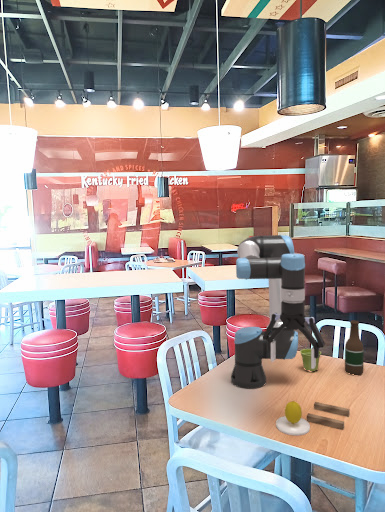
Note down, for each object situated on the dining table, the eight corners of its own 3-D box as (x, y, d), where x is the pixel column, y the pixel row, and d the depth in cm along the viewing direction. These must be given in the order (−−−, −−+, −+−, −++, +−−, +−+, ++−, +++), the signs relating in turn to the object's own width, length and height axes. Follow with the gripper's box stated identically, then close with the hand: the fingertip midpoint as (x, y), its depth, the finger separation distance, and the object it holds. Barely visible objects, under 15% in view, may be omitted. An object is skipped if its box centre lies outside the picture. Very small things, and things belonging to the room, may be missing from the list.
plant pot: (300, 373, 178) (300, 354, 178) (299, 365, 187) (299, 348, 187) (322, 374, 176) (322, 355, 175) (320, 367, 185) (320, 349, 185)
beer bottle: (355, 377, 172) (355, 323, 170) (341, 371, 179) (341, 320, 177) (367, 373, 176) (367, 321, 174) (352, 368, 183) (353, 318, 181)
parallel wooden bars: (306, 421, 135) (306, 415, 135) (315, 406, 145) (315, 401, 145) (343, 429, 129) (343, 424, 129) (349, 414, 139) (349, 409, 139)
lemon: (282, 419, 134) (282, 397, 133) (298, 419, 134) (298, 396, 134) (287, 428, 129) (287, 405, 128) (303, 427, 129) (304, 404, 128)
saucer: (271, 430, 130) (271, 427, 130) (282, 415, 139) (282, 413, 139) (304, 438, 124) (304, 435, 124) (313, 423, 133) (313, 420, 133)
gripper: (252, 299, 132) (253, 361, 133) (329, 306, 119) (329, 374, 120) (261, 295, 138) (261, 354, 140) (334, 302, 125) (334, 366, 127)
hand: (292, 363), depth 130 cm, fingers open, 13 cm apart
